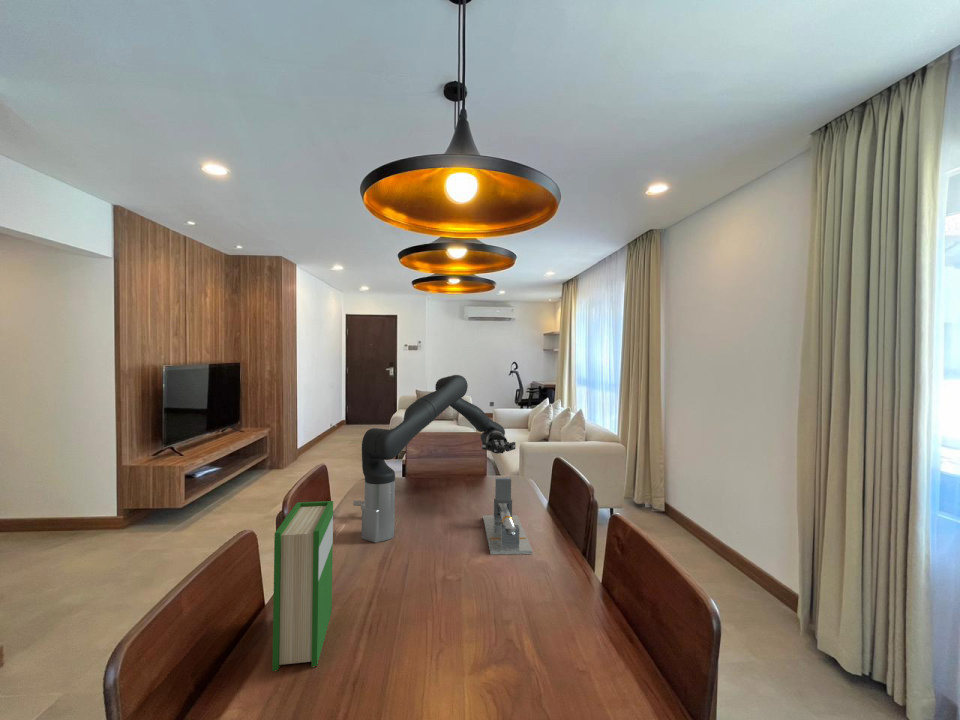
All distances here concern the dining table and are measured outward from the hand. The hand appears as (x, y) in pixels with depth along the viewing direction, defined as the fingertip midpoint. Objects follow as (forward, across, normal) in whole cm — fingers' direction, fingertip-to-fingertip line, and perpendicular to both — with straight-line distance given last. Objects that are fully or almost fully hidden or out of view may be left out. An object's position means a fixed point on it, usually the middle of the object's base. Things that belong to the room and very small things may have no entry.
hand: (501, 450), depth 157 cm
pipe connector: (-2, -46, +24) cm, 52 cm away
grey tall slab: (+7, 0, +21) cm, 22 cm away
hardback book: (+66, -45, +24) cm, 84 cm away
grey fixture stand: (+14, 0, +24) cm, 28 cm away
